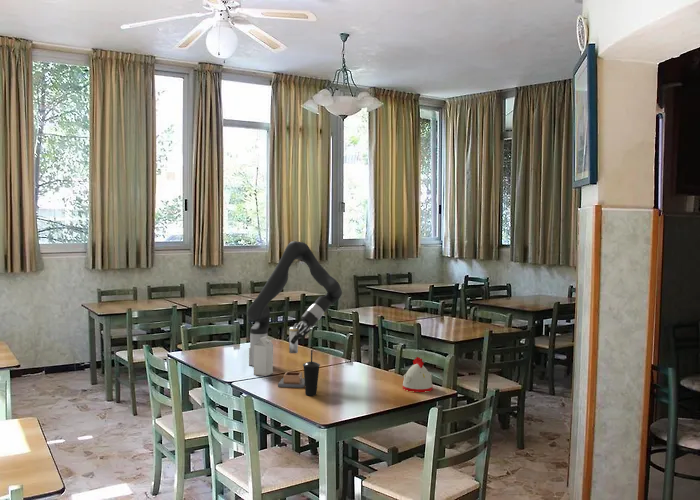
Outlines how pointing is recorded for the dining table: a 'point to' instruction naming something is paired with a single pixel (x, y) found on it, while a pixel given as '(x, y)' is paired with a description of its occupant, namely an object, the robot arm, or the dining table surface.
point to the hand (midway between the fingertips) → (289, 341)
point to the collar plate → (292, 380)
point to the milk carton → (263, 357)
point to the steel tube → (292, 332)
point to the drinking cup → (311, 377)
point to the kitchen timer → (417, 378)
